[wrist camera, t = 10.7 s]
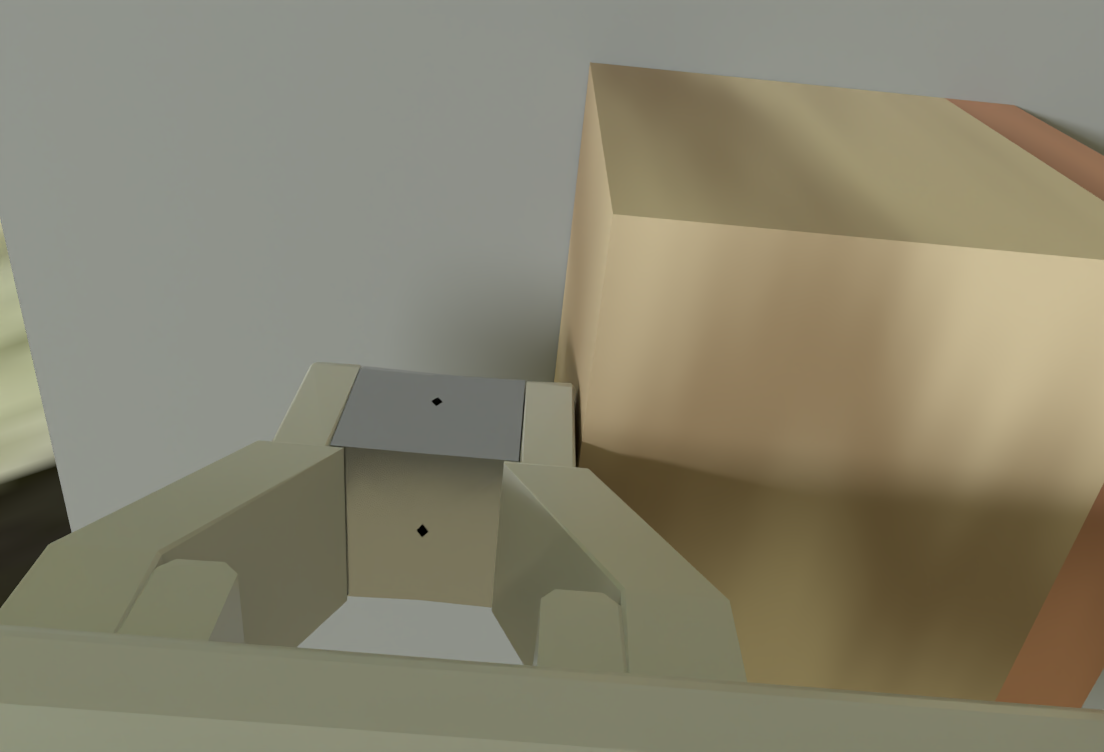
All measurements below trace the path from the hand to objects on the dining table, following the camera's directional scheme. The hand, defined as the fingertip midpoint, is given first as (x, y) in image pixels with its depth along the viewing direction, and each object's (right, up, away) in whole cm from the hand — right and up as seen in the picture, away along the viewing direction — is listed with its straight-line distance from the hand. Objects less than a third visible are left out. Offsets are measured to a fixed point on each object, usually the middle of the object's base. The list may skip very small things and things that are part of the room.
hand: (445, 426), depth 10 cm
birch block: (+1, +1, +1) cm, 2 cm away
